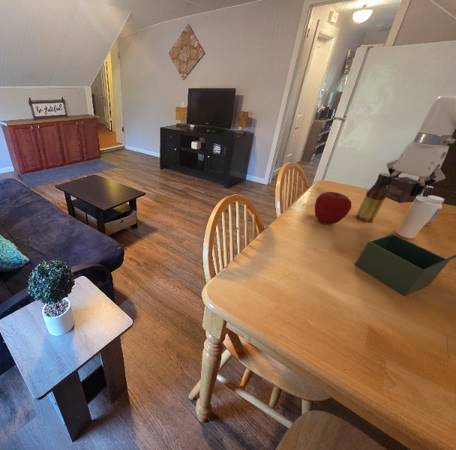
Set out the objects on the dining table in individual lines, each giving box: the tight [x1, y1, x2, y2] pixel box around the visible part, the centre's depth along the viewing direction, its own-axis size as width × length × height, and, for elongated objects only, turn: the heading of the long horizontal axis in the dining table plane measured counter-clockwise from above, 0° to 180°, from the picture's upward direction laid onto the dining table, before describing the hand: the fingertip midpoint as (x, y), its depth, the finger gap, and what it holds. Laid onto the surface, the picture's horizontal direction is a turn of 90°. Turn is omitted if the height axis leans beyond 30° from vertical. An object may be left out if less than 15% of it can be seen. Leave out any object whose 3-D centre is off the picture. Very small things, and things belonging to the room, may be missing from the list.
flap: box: [426, 254, 456, 269], centre depth 61 cm, size 7×12×1 cm
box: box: [384, 176, 420, 204], centre depth 86 cm, size 6×6×7 cm
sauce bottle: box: [356, 172, 391, 223], centre depth 99 cm, size 7×6×20 cm
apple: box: [314, 191, 352, 225], centre depth 98 cm, size 12×12×13 cm
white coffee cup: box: [396, 195, 442, 240], centre depth 90 cm, size 7×7×15 cm
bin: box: [354, 233, 450, 297], centre depth 72 cm, size 14×12×9 cm
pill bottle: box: [424, 195, 445, 226], centre depth 99 cm, size 6×6×11 cm
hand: (402, 191), depth 86 cm, fingers closed on box, 6 cm apart
